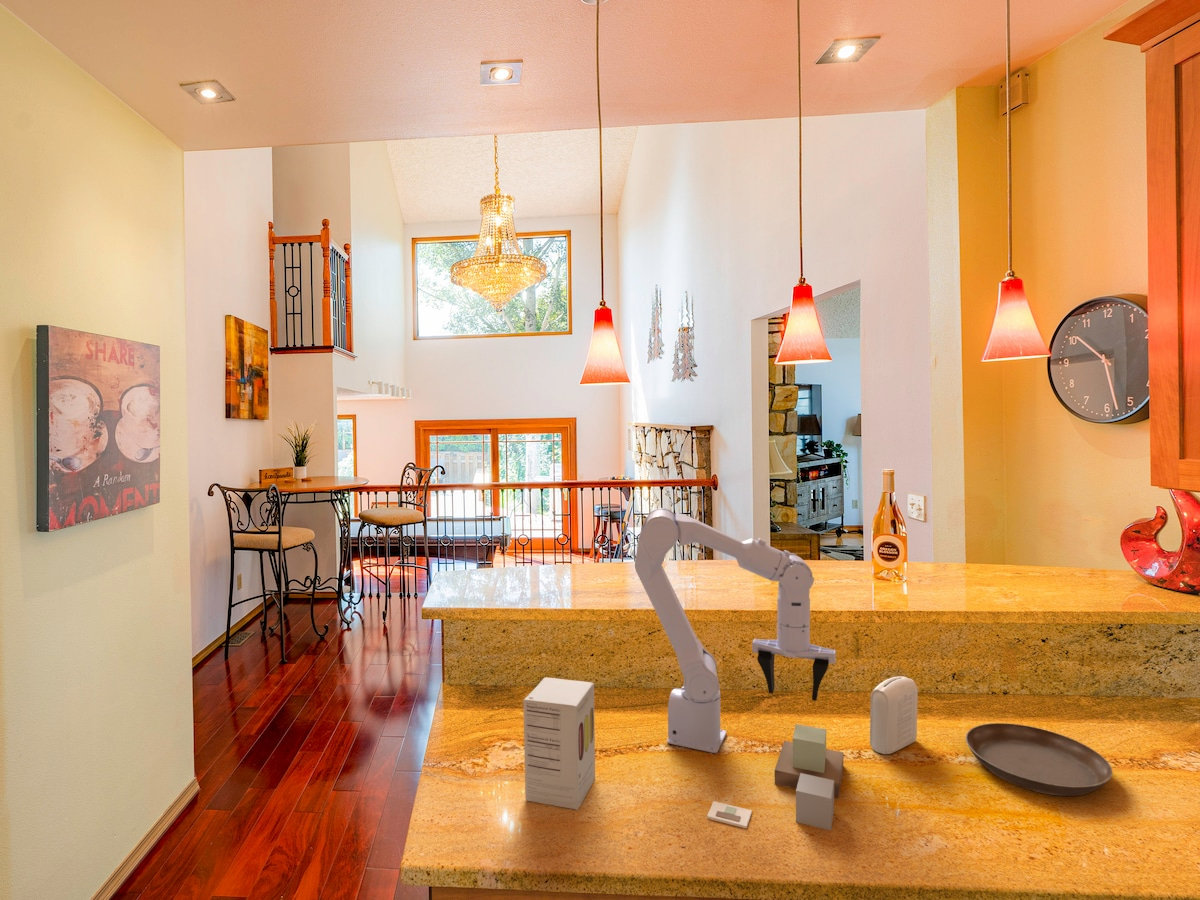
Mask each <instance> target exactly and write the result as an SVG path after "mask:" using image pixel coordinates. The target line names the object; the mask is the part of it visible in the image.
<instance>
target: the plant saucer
mask: <svg viewBox="0 0 1200 900" xmlns="http://www.w3.org/2000/svg"><path fill="white" fill-rule="evenodd" d="M965 742H966V744H967V746H968V748H969V750H970V752H972V754H973V756H974V757H975V759H976V760H977V761H979V763H980V764H981V765H983V766H984V767H985V768H986V769H987V770H988V771H989V772H991V773H992V774H994V775H995V776H997V777H998V778H1000V779H1002V780H1004V781H1007V783H1011V784H1012V785H1015V786H1017V787H1019V788H1023V789H1026V790H1030V791H1033V792H1037V793H1041V794H1045V795H1046V794H1047V795H1052V796H1060V797H1075V796H1082V795H1086V794H1090V793H1092V792H1094V791H1096V790H1099V789H1100V788H1102V787H1103V786H1104V785H1105V784H1107V783H1108V782H1109V781H1110V779H1112V776H1113V768H1112V766H1111V764H1110V763H1109V762H1108V761H1107V759H1105V758H1104V756H1102V755H1101V754H1100V753H1098V752H1097V751H1096V750H1094V749H1093V748H1091V747H1089V746H1088V745H1085V744H1084V743H1082V742H1080V741H1077V740H1075V739H1073V738H1070V737H1068V736H1065V735H1063V734H1059V733H1057V732H1053V731H1051V730H1047V729H1043V728H1040V727H1035V726H1029V725H1023V724H1016V723H1008V722H1007V723H1003V722H1001V723H999V722H994V723H993V722H992V723H991V722H990V723H984V724H979V725H975V726H974V727H972V728H971V729H969V730H968V731H967V733H966V734H965Z"/></svg>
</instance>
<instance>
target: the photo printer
mask: <svg viewBox="0 0 1200 900" xmlns="http://www.w3.org/2000/svg"><path fill="white" fill-rule="evenodd" d="M918 691H919V690H918V686H917V683H916V682H915V681H914V680H913V679H912V678H910V677H909V678H908V676H903V675H900V676H894V677H893V676H892V677H890V678H887V679H885V680H883V681H882V682H880V683H879V684H878V685H877V686H876V687H875V688H874V689H873V690H872V691H871V694H870V713H869V714H870V715H869V716H870V717H869V718H870V719H869V745H870V747H871V748H872V750H873V751H875V752H876V753H878V754H881V755H890V754H893V753H896V752H897V751H899V750H901V749H904V748H905V747H907V746H909V745H911V744H913V743H915V741H916V740H917V737H918V736H917V735H918V734H917V733H918V727H917V726H918V693H919V692H918Z"/></svg>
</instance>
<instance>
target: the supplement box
mask: <svg viewBox="0 0 1200 900" xmlns="http://www.w3.org/2000/svg"><path fill="white" fill-rule="evenodd" d="M522 705H523V707H522V708H523V741H524V742H523V743H524V745H523V747H524V748H523V749H524V783H525V784H524V785H525V786H524V787H525V788H524V790H525V792H524V794H525V795H524V796H525V801H527V802H533V803H539V804H544V805H549V806H556V807H561V808H567V809H571V810H575V811H578V810H579V808H580V807H581V805H582V803H583V801H584V799H585V798H586V796H587V794H588V793H589V790H590V789H591V787H592V785H593V783H594V781H595V780H596V749H595V747H596V746H595V745H596V743H595V741H596V739H595V738H596V736H595V735H596V733H595V732H596V731H595V684H594V682H591V681H583V680H573V679H563V678H556V677H555V678H554V677H545V676H544V677H543V679H542V680H541V681H540V682H539V683H538V684H537V685H536V687H534V689H533V690H532V691H531V692H530V693H529V694H528V695H527V696H525V698H524V699H523V704H522Z"/></svg>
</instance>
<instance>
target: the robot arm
mask: <svg viewBox="0 0 1200 900" xmlns="http://www.w3.org/2000/svg"><path fill="white" fill-rule="evenodd" d="M678 540H679V546H680V547H681V546H683V547H684V546H686V545H689V544H695V543H697V544H698V545H699V544H700V545H703V546H705V547H706V548H709V549H712V550H714V551H718V552H720V553H722V554H724V555H725V554H726V555H727V556H730V557H733V558H735V559H736V562H737V565H738V566H739V568H741V569H743V570H745V571H748V572H750V573H752V574H755V575H757V576H760V577H762V578H764V579H767V580H769V581H770V582H778V585H777V586H778V591H777V593H778V594H777V597H776V598H777V601H776V602H777V603H776V604H777V605H776V606H777V609H776V612H777V613H776V614H777V615H776V624H777V625H776V639H759V638H754V639H753V640H752V643H751V644H752V646H751V647H752V648H751V649H752V650H751V652H752V653H755V654H757V657H756V659H757V663H758V664H759V666H760V668H761V670H762V673H763V675H764V678H765V680H766V684H767V689H768V690H767V691H768V694H773V693H774V691H775V656H776V655H777V656H778V655H779V656H784V657H787V658H792V659H796V658H799V659H808V660H814V661H813V663H812V692H811V693H812V694H811V701H813V702H816V701H817V699H818V693H819V688H820V686H821V683H822V681H823V678H824V676H825V674H826V673H827V671H828V668H829V664H831V665H835V663H836V661H837V659H836V654H837V650H836V649H831V648H828V647H827V648H826V647H823V646H819V645H817V644H811V643H810V642H811V641H810V640H811V639H810V638H811V636H810V635H811V634H810V632H811V628H810V626H811V599H810V592H811V591H810V589H811V588H812V586H813V585H814V581H815V577H813V572H812V569H811V567H809V565H808V564H807V563H806V561H805V560H804V559H803V558H802V557H800V556H798V555H797V554H796V553H794V552H792V553H791V552H790V551H789V550H786V549H784V550H783V551H782V550H780V549H777V548H776V547H772V546H770V545H769V544H766V543H767V541H766V540H765V539H763V538H761V537H758V538H757V539H754V538H751V537H750V538H748V539H746V540H740V539H737V538H735V537H733V536H731V535H729V534H727V533H725V532H723V531H721V530H718V529H717V528H714V527H712V526H710V525H708V524H706V523H704V522H702V521H700V520H698V519H695V518H694V517H690V516H688V515H686V514H685V513H680V512H675V513H674V512H673V511H672V510H671V509H668V508H663V507H659V508H655V509H654V510H652V511H651V512H649V513H648V515H647V517H646V518H645V520H644V522H643V524H642V525H641V528H640V532H639V535H638V540H637V549H636V554H635V560H634V569H635V572H636V574H637V576H638V578H639V580H640V583H641V584H642V586H643V589H644V590H645V592H646V595H647V597H648V599H649V601H650V603H651V605H652V606H653V609H654V611H655V613H656V615H657V618H658V620H659V621H660V623H661V625H662V627H663V629H664V632H665V634H666V636H667V637H668V639H669V642H670V644H671V646H672V648H673V650H674V652H675V655H676V658H677V662H678V665H679V668H680V671H681V673H682V675H683V686H681V688H673V689H672V690H671V691H670V695H669V699H668V705H667V735H668V736H667V737H668V738H667V739H666V742H667V743H668V744H671V745H673V746H674V745H675V746H680V747H685V748H688V749H694V750H699V751H704V752H708V753H712V754H717V753H718V752H719V750H720V748H721V745H722V744H723V741H724V739H725V738H726V736H727V731H726V730H724V729H721V690H720V682H719V678H718V674H717V661H716V659H715V656H714V655H712V654H711V653H710V652H709V651H707V649H705V647H704V645H703V643H702V641H701V640H700V639H699V638H698V637H697V635H696V633H695V630H694V629H693V626H692V625H691V622H690V621H689V618H688V617H687V614H686V612H685V609H684V608H683V606H682V604H681V602H680V600H679V598H678V596H677V593H676V592H675V590H674V588H673V586H672V583H671V582H670V579H669V577H668V575H667V573H666V570H665V569H664V567H663V563H664V560H665V558H666V555H667V554H668V553H669V552H670V550H671V549H672V548H673V547H674V546H675V545H676V543H677V541H678Z"/></svg>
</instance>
